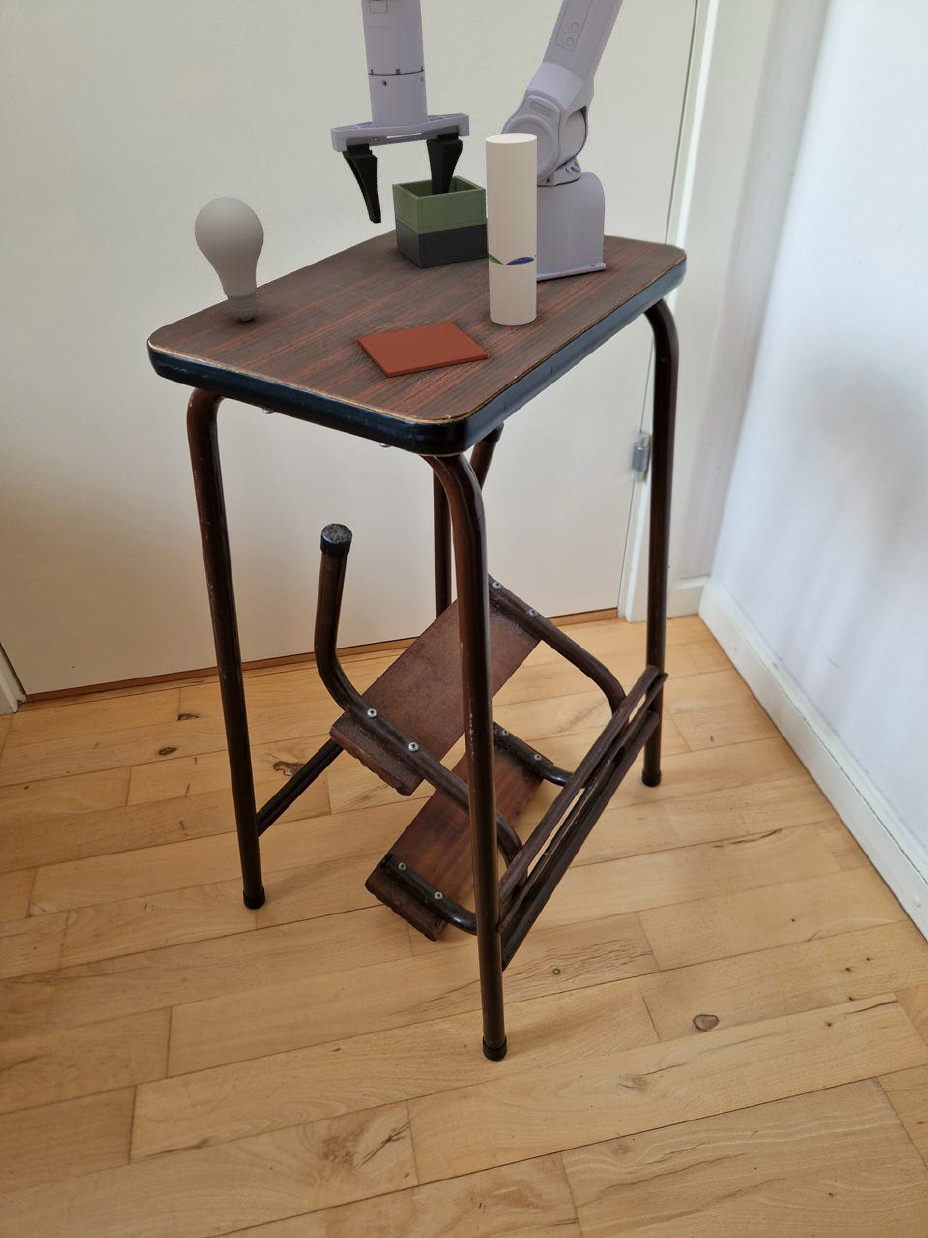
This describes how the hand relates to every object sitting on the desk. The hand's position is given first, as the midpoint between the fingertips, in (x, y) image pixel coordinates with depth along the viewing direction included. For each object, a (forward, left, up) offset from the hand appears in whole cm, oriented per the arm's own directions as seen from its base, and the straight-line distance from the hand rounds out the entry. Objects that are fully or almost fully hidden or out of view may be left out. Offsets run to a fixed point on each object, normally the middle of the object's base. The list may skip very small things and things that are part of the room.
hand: (407, 216), depth 97 cm
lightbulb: (+21, +11, -5) cm, 24 cm away
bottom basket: (-4, 0, -4) cm, 6 cm away
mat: (+8, +27, -4) cm, 28 cm away
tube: (-2, +23, -5) cm, 24 cm away
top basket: (-4, 0, -1) cm, 4 cm away
